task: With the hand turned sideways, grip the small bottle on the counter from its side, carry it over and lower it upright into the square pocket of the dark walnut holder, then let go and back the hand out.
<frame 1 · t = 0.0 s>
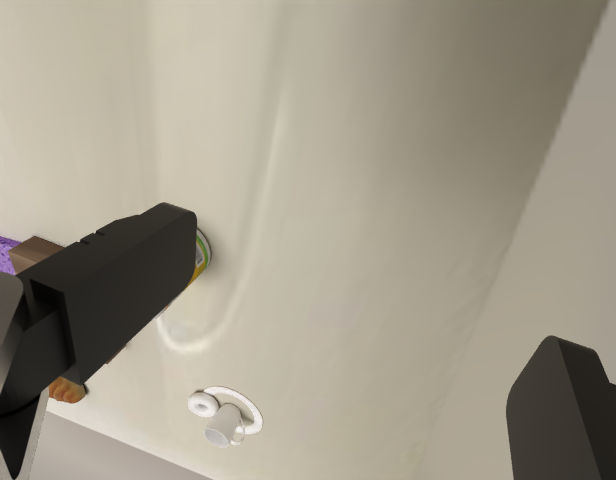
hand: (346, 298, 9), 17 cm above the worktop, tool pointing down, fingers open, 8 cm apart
pastry: (59, 368, 57), on the worktop
bottle holder: (82, 293, 44), on the worktop
sponges: (3, 254, 47), on the worktop
supplement bottle: (186, 243, 35), on the worktop
teacup and saucer: (223, 386, 45), on the worktop
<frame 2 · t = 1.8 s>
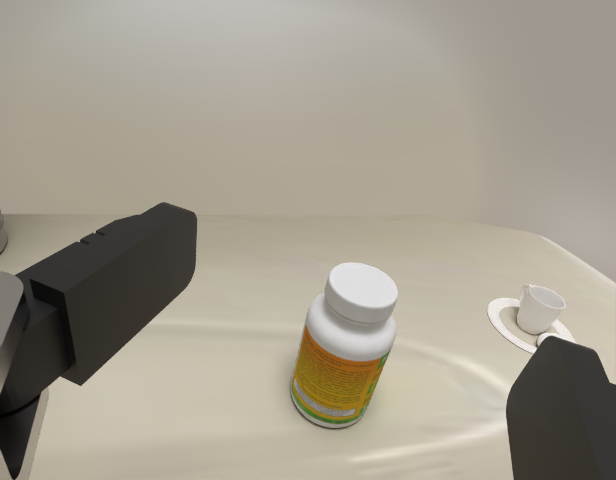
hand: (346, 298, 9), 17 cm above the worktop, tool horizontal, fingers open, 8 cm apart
supplement bottle: (327, 395, 27), on the worktop
teacup and saucer: (514, 345, 36), on the worktop
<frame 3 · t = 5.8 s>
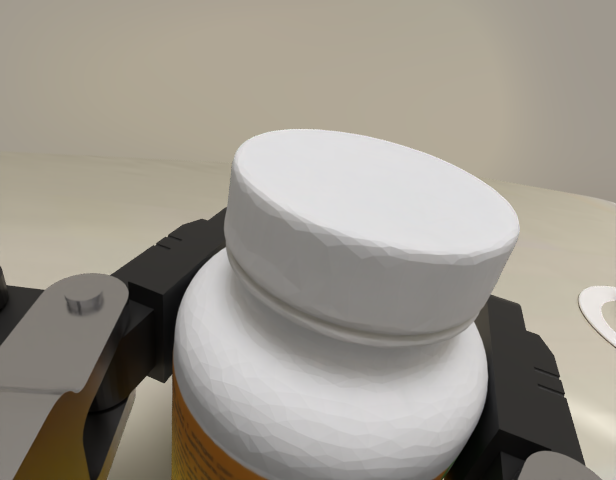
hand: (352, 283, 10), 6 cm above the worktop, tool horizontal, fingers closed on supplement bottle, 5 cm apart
when the fingers open (8 cm above the worktop, at t = 11.6 s): supplement bottle drops 2 cm, resting in bottle holder.
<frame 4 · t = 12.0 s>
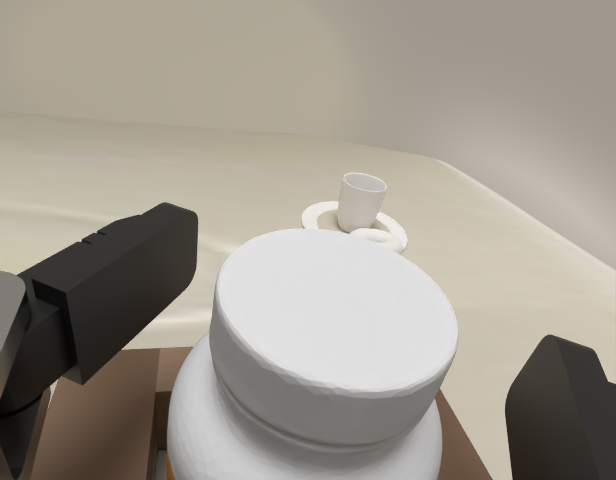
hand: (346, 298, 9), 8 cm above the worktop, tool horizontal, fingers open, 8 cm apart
teacup and saucer: (323, 245, 28), on the worktop
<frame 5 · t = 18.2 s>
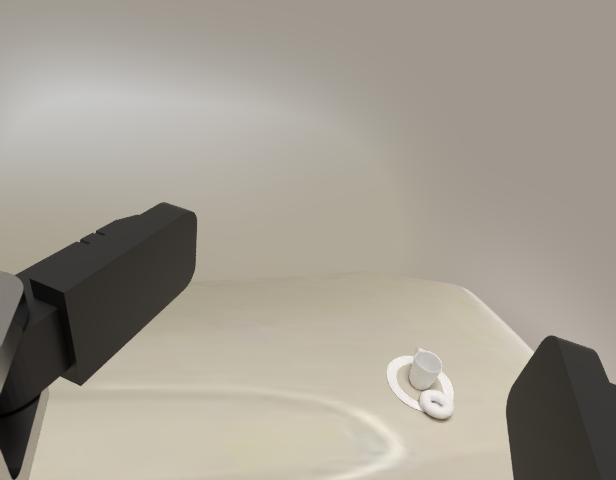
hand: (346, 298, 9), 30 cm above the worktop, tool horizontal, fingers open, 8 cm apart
teacup and saucer: (403, 399, 45), on the worktop
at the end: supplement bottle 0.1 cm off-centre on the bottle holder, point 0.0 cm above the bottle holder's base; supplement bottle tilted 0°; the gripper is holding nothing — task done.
